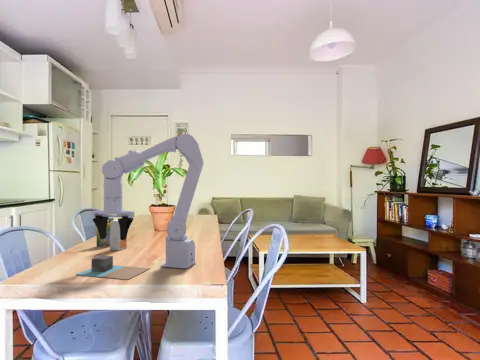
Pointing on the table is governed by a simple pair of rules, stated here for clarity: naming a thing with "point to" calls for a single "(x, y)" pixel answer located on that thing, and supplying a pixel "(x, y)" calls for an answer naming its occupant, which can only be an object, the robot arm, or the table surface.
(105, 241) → the crayon box
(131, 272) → the board
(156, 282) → the table surface
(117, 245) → the skincare box
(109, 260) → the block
